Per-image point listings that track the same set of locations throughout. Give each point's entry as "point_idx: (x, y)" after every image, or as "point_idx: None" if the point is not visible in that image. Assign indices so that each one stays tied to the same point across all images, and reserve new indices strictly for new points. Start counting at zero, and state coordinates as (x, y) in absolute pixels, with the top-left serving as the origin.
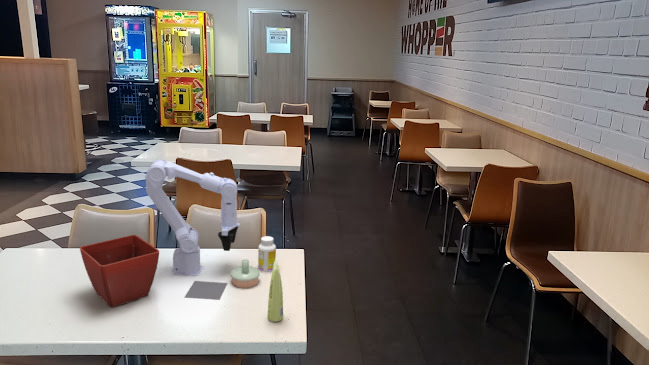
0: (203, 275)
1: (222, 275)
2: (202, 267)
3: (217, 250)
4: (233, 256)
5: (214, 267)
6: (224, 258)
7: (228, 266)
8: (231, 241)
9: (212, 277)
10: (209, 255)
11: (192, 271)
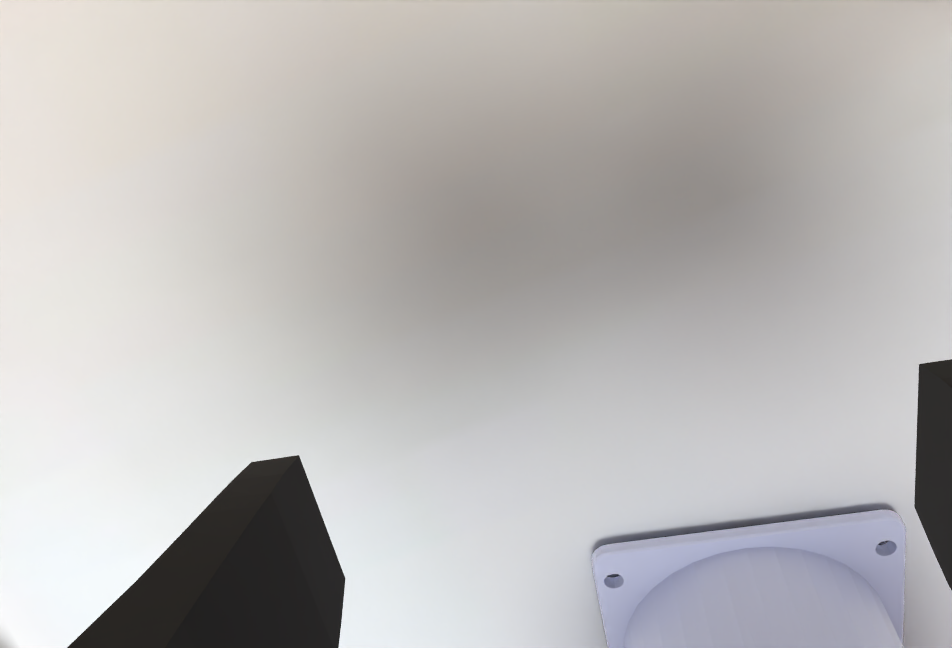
0: (832, 458)
1: (780, 213)
2: (637, 556)
3: (13, 583)
4: (51, 324)
5: (536, 425)
6: (191, 415)
7: (427, 255)
8: (314, 541)
9: (879, 325)
10: None
11: (885, 616)
